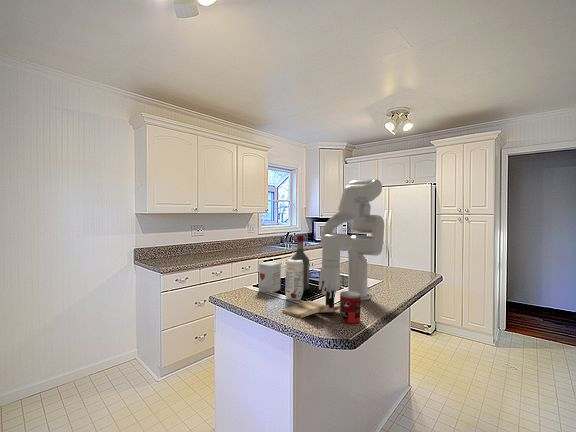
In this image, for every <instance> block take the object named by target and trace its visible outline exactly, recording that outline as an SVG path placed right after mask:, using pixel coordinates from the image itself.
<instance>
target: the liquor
mask: <svg viewBox="0 0 576 432" xmlns="http://www.w3.org/2000/svg"><path fill="white" fill-rule="evenodd" d="M296 241H297V246H296V248H297V249H296V252H295V253H294V254H293V256H292V257H291V258H290V259H291V260H303V265H304V276H303V291H306V290H305V289H307V290H308V289H309V288H310V258H309V257H308V256H307V254H305V251H304V234H303V235H301V234H297V236H296Z"/></svg>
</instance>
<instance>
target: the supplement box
mask: <svg viewBox="0 0 576 432" xmlns="http://www.w3.org/2000/svg"><path fill="white" fill-rule="evenodd" d="M281 267H282V263H281V262H275V261H273V262H272V261H266V262H261V263H259V264H258V291H259V292H263V293H267V294H274V293H276V292H278V291H280V290H281V282H282V281H281V278H282V277H281V275H282V273H281V272H282V269H281Z"/></svg>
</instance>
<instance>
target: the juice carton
mask: <svg viewBox="0 0 576 432" xmlns="http://www.w3.org/2000/svg"><path fill="white" fill-rule="evenodd" d="M303 276H304V265H303V260H291V258H290V259H287V260H286V263H285V277H284V278H285V282H284V284H285V285H284V286H285V291H284V293H285V299H286V300H294V301H301V299H302V297H303V294H304V290H303Z"/></svg>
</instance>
